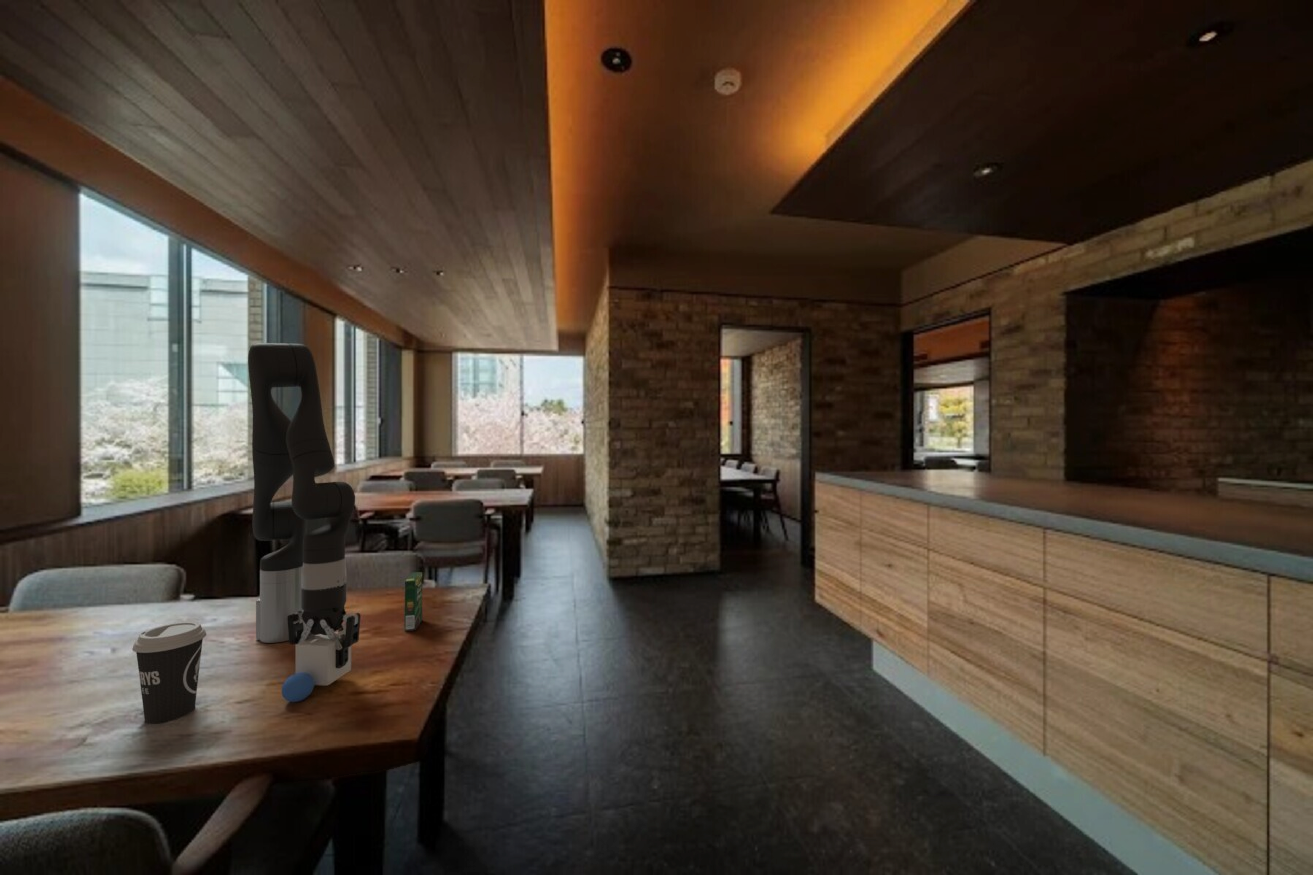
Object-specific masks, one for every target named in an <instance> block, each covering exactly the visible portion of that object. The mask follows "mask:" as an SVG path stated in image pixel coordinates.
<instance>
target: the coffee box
mask: <svg viewBox="0 0 1313 875" xmlns="http://www.w3.org/2000/svg"><path fill="white" fill-rule="evenodd" d="M422 620H423V572H418V571H415V572H411V574H410V575H409V576H408V578H406V580H405V581H404V632H415V631H416V630H417V629H418V627H419V626H420V623H422ZM414 630H415V631H414Z"/></svg>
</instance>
